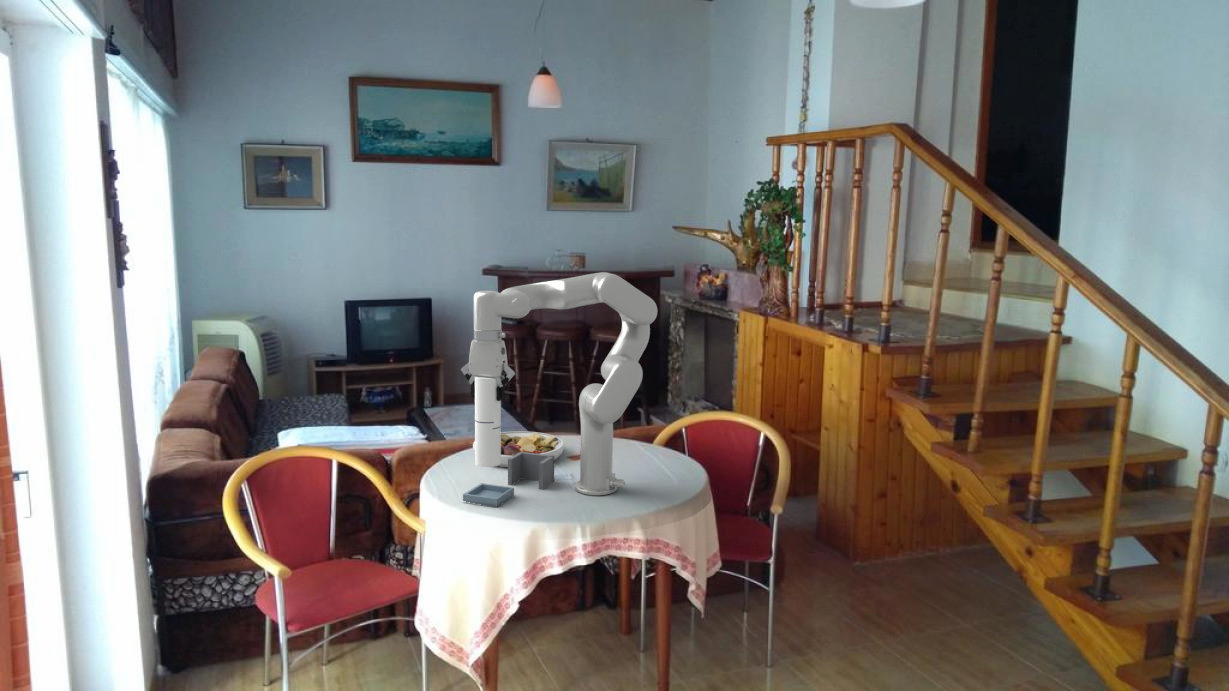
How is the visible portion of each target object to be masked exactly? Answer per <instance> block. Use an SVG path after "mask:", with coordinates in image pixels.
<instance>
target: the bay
mask: <svg viewBox="0 0 1229 691" xmlns="http://www.w3.org/2000/svg"><path fill="white" fill-rule="evenodd" d="M522 479H525V480H533V481H537V482H538V490H540V491H541V490H544V489H546V488H547V487H548V486H550V485H551V484H553V483H554V482H555V460H554V456H551V455H543V454H535V453H527V452H519V453H517V454H516V455H514V456H512V457H511V458H509V459H508V468H507V486H513V485H514V484H516V483H517V482H519V481H520V480H522Z"/></svg>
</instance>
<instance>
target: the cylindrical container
mask: <svg viewBox="0 0 1229 691" xmlns="http://www.w3.org/2000/svg"><path fill="white" fill-rule="evenodd" d="M497 387H498V383H497V381H496V378H494V377H483V376H475V398H474V441H475V453H474V455H475V456H474V464H475V465H476V466H477V467H480V468H482V467H483V468H492V467H498V465H500V464H501V433H502V429H501V428H502V414H501V412H502V407H501V406H502V400H501V401H497Z"/></svg>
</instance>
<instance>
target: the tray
mask: <svg viewBox="0 0 1229 691" xmlns="http://www.w3.org/2000/svg"><path fill="white" fill-rule="evenodd" d="M514 496H515V487H512V486H503V485H498V484H497V485H496V484H491V483H490V484H489V483H479V484H478V485H476V486H474V487H472V488H471V489H469V490H468V491H466V492H465V493H462V502H463V501H466V502H470V503H475V504H474V505H476V504H481V505H480V506H483V505H486V506H485V507H489V506H491V508H496V507H497V508H498V507H500V506H501V505H503V504H504V503H506V502H507V501H508V500H510V499H511V498H513V497H514ZM502 503H503V504H502Z"/></svg>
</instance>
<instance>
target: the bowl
mask: <svg viewBox="0 0 1229 691" xmlns="http://www.w3.org/2000/svg"><path fill="white" fill-rule="evenodd" d="M564 445H565V444H564V441H563V440H562V439H561V438H560V437H558V436H555V435H554V434H548V433H546V432H545V433H544V432H538V431H537V432H536V431H523V430H522V431H503V432H502V431H501V464H500V465H498V466H499V468H507V467H508V459H509V458H511V457H512V456H514V455H516V454H517V453H519V452H527V453H535V454H543V455H551V456H554V461H556V460H557V459H558V458H559V457H560V456H561V455H562V453H563V450H564ZM472 451H473V453H474V454H475V440H474V441H473V443H472ZM498 466H497V467H498Z"/></svg>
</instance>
